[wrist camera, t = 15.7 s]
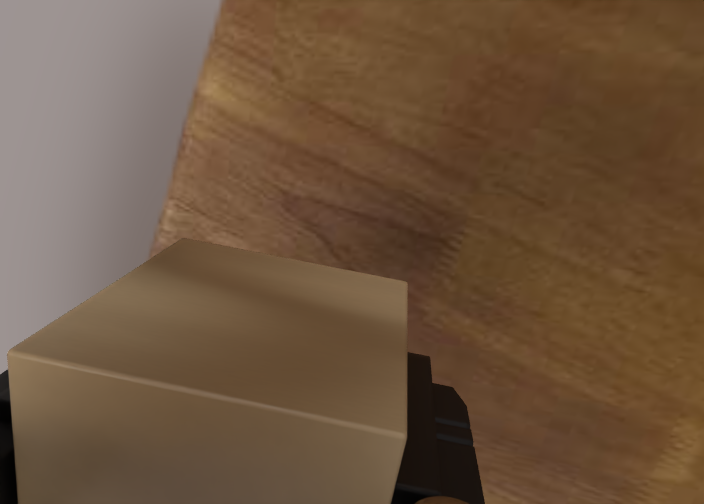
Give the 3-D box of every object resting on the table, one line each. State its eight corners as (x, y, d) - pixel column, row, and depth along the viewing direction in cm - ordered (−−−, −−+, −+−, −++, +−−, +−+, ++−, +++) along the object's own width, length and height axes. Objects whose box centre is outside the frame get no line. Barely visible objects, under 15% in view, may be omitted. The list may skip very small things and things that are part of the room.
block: (172, 423, 11) (24, 630, 7) (182, 236, 10) (3, 351, 5) (367, 466, 11) (340, 707, 7) (408, 280, 9) (408, 436, 5)
